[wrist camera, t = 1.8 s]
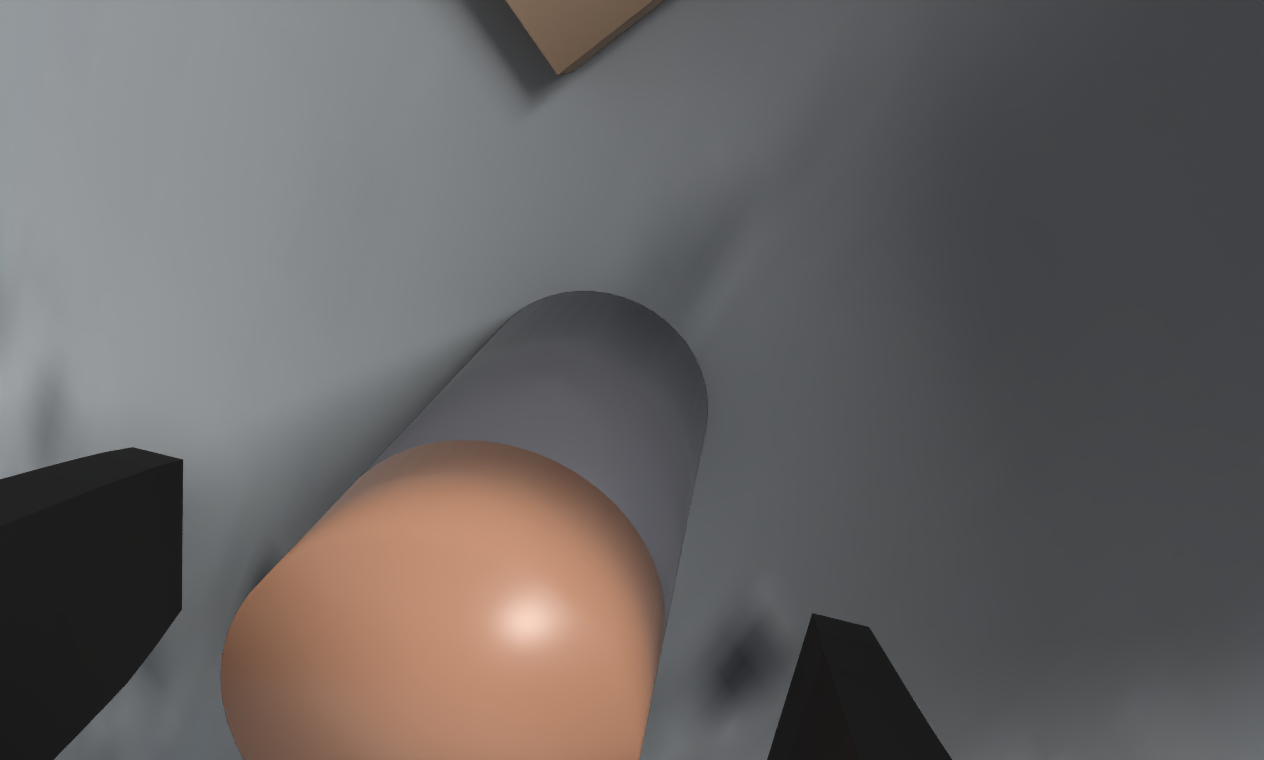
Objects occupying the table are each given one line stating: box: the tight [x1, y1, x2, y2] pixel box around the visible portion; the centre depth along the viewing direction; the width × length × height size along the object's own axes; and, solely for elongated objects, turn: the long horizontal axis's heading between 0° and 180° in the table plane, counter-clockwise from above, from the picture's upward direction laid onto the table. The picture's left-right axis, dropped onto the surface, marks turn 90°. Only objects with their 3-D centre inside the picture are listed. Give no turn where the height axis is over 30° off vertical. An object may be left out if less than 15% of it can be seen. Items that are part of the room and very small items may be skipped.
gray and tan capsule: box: [221, 291, 708, 760], centre depth 12 cm, size 4×4×8 cm
